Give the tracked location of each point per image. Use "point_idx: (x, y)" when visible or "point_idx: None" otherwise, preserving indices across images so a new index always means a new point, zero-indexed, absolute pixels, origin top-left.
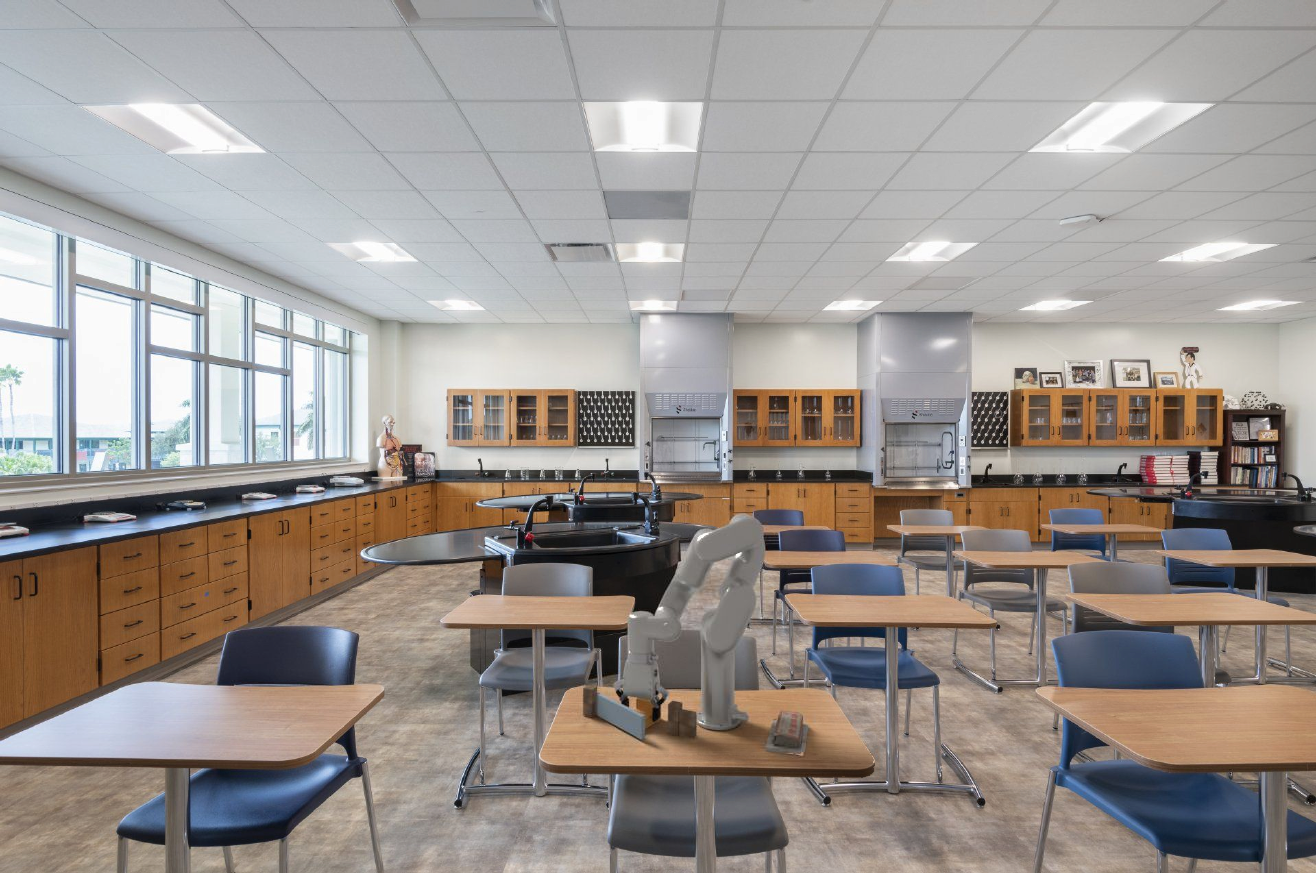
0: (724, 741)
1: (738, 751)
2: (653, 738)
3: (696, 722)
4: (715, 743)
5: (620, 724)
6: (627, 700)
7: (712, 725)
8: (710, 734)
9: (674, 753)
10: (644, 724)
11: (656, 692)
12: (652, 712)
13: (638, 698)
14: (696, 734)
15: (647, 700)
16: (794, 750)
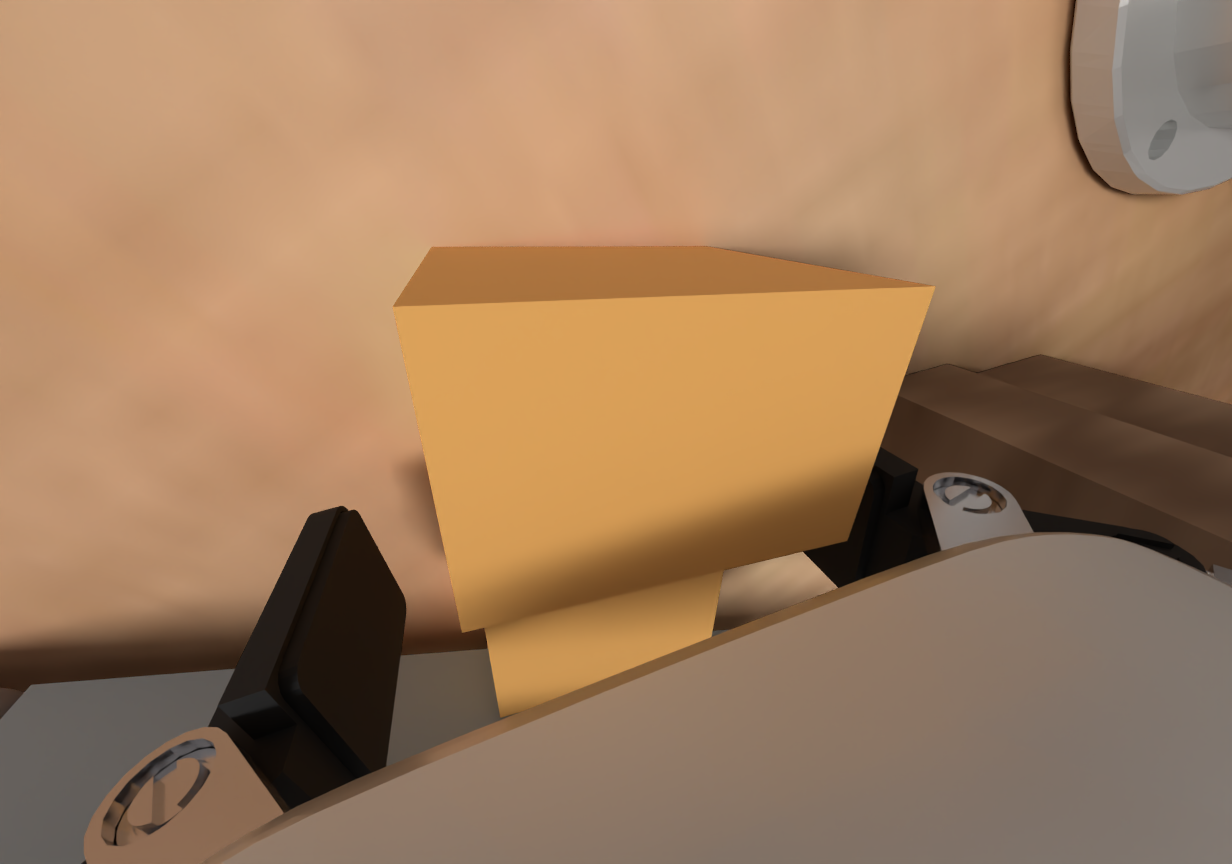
0: (1189, 303)
1: (1220, 363)
2: (790, 564)
3: (1180, 392)
4: (1133, 363)
5: None
6: (331, 718)
7: (1221, 167)
8: (1131, 264)
9: None
10: None
11: (1067, 553)
12: (811, 558)
13: (494, 595)
14: (1053, 359)
15: (710, 530)
16: None
